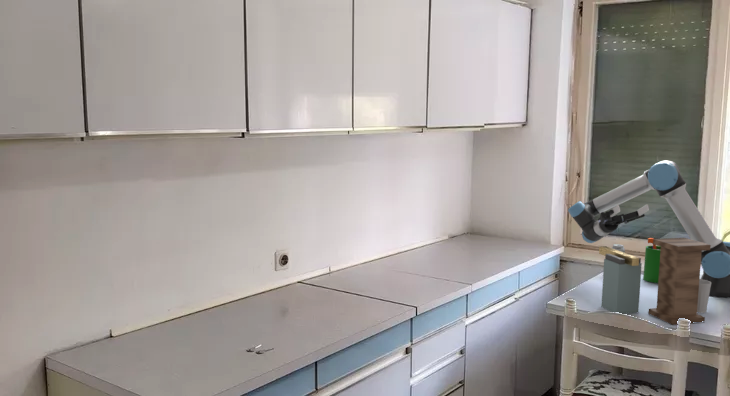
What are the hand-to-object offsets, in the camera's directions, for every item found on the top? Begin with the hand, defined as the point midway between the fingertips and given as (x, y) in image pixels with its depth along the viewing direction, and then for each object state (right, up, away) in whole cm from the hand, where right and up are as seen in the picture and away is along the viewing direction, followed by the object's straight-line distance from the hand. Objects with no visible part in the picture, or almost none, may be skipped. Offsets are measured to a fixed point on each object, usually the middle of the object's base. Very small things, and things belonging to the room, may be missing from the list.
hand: (633, 207), depth 268 cm
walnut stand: (+9, -42, -18) cm, 47 cm away
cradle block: (-9, -41, -7) cm, 43 cm away
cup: (+22, -41, -8) cm, 48 cm away
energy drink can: (+11, -34, +46) cm, 58 cm away
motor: (+25, -35, +38) cm, 57 cm away
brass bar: (-9, -21, -7) cm, 24 cm away
